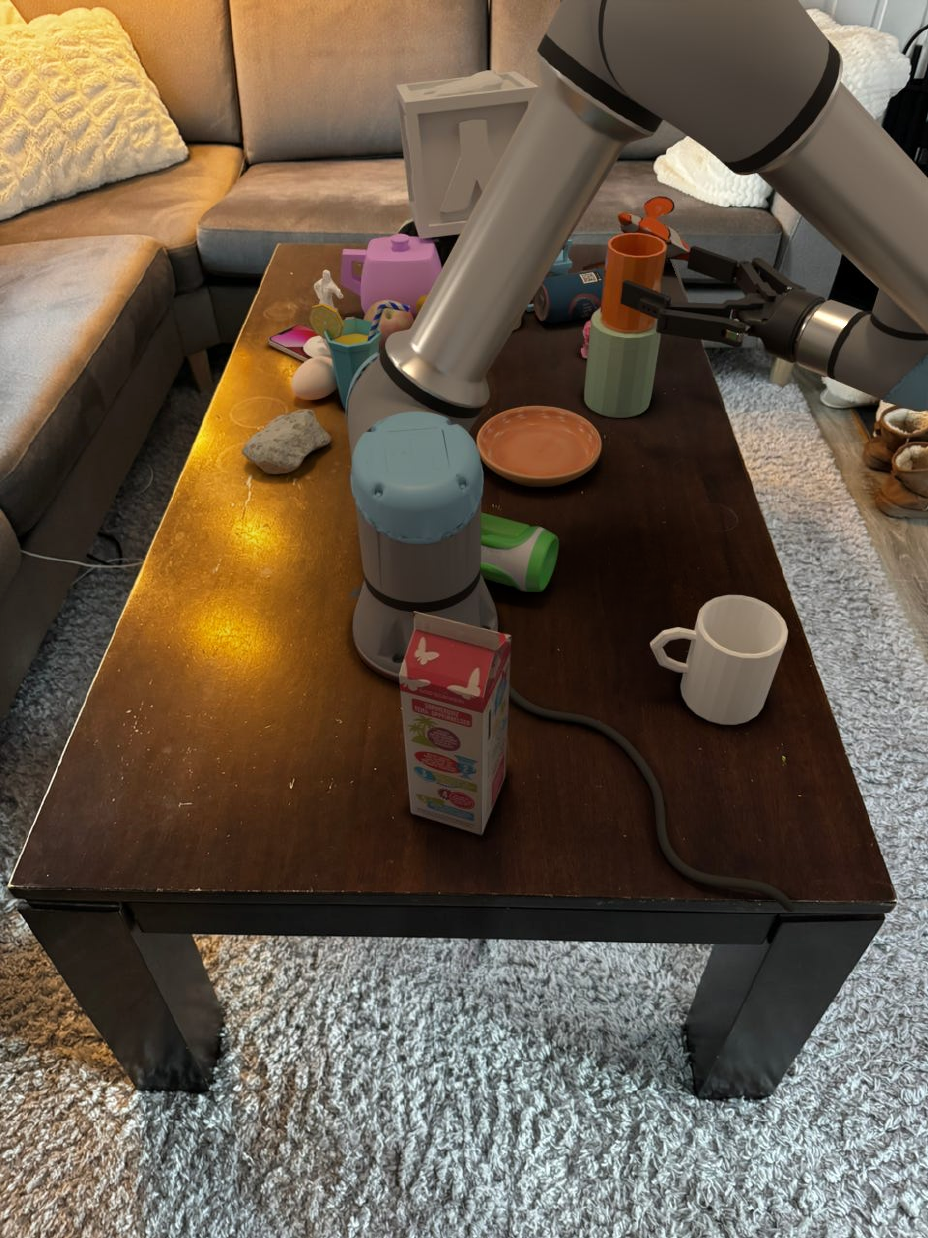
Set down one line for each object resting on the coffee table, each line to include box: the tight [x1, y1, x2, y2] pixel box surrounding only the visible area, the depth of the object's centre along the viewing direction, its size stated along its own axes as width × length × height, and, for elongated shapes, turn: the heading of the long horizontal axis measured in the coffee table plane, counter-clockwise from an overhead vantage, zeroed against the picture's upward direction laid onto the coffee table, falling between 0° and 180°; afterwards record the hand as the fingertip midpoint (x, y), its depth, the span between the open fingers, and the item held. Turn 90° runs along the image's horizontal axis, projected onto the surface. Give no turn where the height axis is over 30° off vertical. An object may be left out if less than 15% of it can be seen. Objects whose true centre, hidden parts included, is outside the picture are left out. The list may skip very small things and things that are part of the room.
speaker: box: [481, 512, 560, 593], centre depth 100 cm, size 18×7×8 cm
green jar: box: [583, 309, 662, 419], centre depth 123 cm, size 9×9×12 cm
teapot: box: [339, 233, 443, 321], centre depth 141 cm, size 20×12×13 cm, turn 90°
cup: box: [307, 301, 410, 409], centre depth 122 cm, size 14×8×15 cm, turn 86°
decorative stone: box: [241, 408, 332, 475], centre depth 117 cm, size 12×11×5 cm
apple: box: [363, 300, 414, 353], centre depth 135 cm, size 8×8×8 cm
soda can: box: [532, 269, 605, 324], centre depth 142 cm, size 7×7×12 cm
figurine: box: [303, 269, 344, 359], centre depth 131 cm, size 7×7×12 cm
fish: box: [617, 195, 690, 262], centre depth 156 cm, size 20×12×15 cm
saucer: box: [476, 405, 603, 488], centre depth 116 cm, size 16×16×3 cm
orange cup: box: [600, 233, 667, 333], centre depth 115 cm, size 7×7×10 cm
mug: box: [649, 594, 789, 726], centre depth 86 cm, size 8×12×10 cm, turn 88°
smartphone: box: [268, 323, 319, 363], centre depth 137 cm, size 7×1×15 cm
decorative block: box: [395, 70, 539, 239], centre depth 140 cm, size 19×19×20 cm
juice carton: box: [398, 611, 512, 836], centre depth 73 cm, size 7×7×22 cm
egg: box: [290, 356, 338, 401], centre depth 127 cm, size 6×6×8 cm
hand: (657, 273), depth 111 cm, fingers open, 13 cm apart
